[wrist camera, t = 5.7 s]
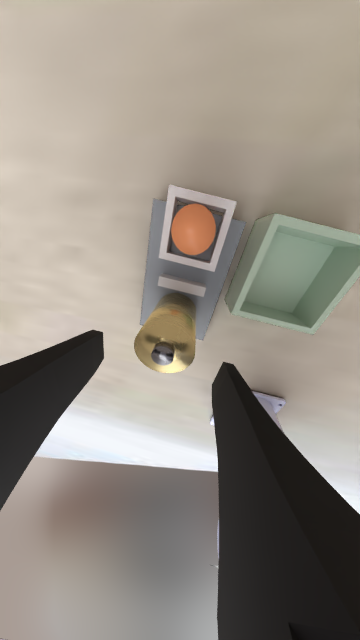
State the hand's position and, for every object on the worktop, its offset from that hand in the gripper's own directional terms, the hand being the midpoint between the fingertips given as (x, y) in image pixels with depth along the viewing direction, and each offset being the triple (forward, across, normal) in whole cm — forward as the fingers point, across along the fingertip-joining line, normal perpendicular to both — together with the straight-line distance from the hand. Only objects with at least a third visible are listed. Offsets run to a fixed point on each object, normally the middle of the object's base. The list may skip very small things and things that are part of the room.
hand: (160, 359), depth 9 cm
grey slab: (+8, 0, -3) cm, 9 cm away
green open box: (+8, -8, -5) cm, 13 cm away
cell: (+7, 0, 0) cm, 7 cm away
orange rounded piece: (+6, 0, -7) cm, 9 cm away
